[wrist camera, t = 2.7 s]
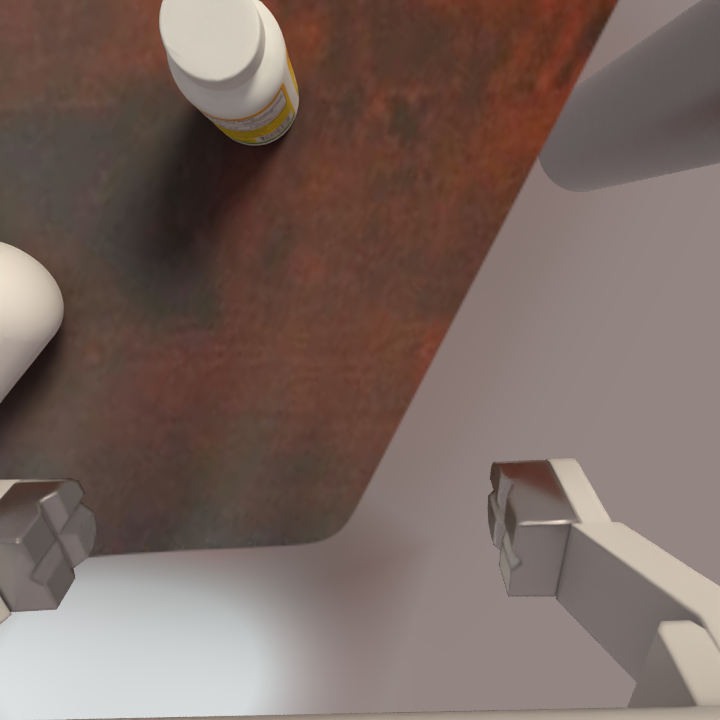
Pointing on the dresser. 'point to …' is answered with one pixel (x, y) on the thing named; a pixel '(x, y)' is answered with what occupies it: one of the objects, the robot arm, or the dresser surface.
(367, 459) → the dresser surface
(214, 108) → the supplement bottle
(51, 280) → the mug
